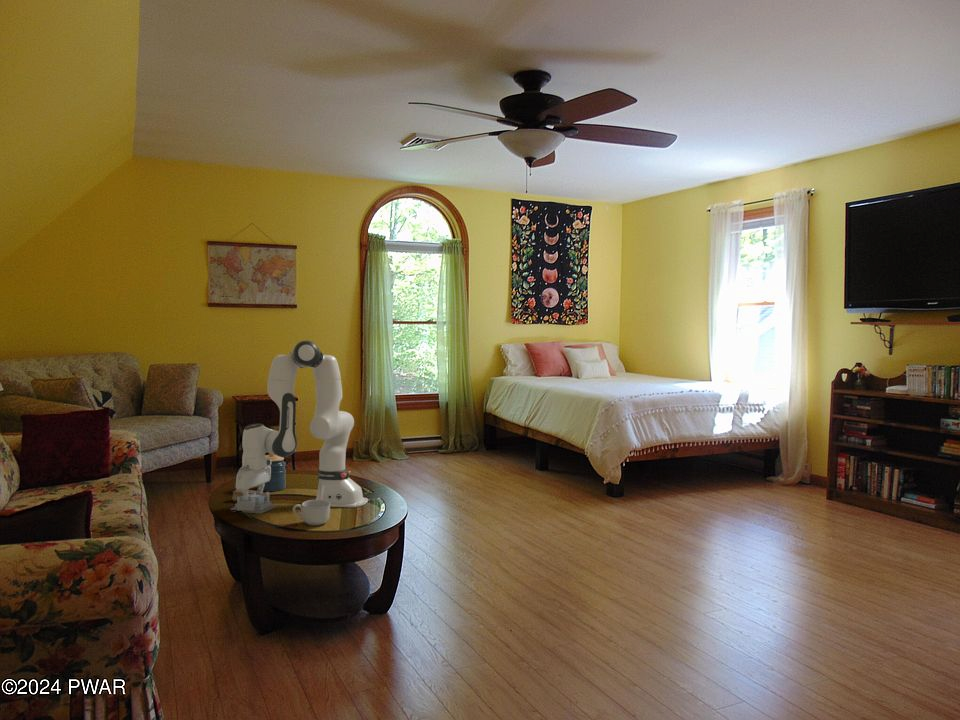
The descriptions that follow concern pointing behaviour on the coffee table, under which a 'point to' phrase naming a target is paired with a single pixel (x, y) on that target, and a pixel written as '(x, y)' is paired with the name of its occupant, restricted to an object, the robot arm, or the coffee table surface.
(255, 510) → the jig
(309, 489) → the coffee table surface
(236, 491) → the tan cardboard carton
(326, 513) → the teacup
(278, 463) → the canister
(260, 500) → the pale grey upright block
